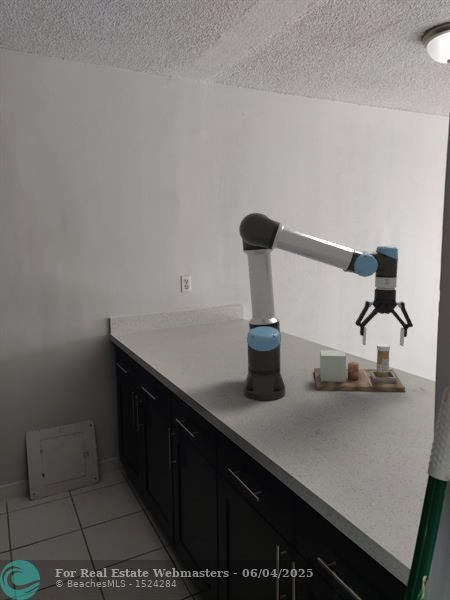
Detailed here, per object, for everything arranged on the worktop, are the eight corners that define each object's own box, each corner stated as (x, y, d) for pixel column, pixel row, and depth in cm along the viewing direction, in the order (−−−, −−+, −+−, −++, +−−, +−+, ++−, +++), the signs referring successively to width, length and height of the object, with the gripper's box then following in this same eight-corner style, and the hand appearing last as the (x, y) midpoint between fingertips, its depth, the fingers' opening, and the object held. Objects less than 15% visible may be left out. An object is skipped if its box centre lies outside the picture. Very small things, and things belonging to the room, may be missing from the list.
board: (317, 389, 175) (317, 370, 174) (314, 371, 196) (314, 354, 195) (405, 391, 170) (405, 371, 169) (392, 373, 192) (392, 355, 191)
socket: (373, 382, 176) (373, 377, 176) (370, 375, 184) (370, 370, 184) (396, 383, 175) (396, 377, 175) (392, 376, 183) (392, 371, 183)
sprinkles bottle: (374, 377, 182) (375, 343, 179) (385, 376, 182) (386, 342, 180) (378, 381, 177) (380, 346, 175) (390, 380, 178) (392, 346, 175)
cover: (321, 381, 179) (321, 355, 178) (320, 374, 187) (320, 350, 185) (345, 381, 178) (346, 356, 176) (343, 375, 186) (343, 350, 184)
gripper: (351, 289, 173) (349, 346, 176) (423, 290, 169) (420, 348, 172) (349, 286, 180) (347, 341, 183) (418, 287, 177) (415, 343, 180)
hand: (382, 344), depth 178 cm, fingers open, 13 cm apart
